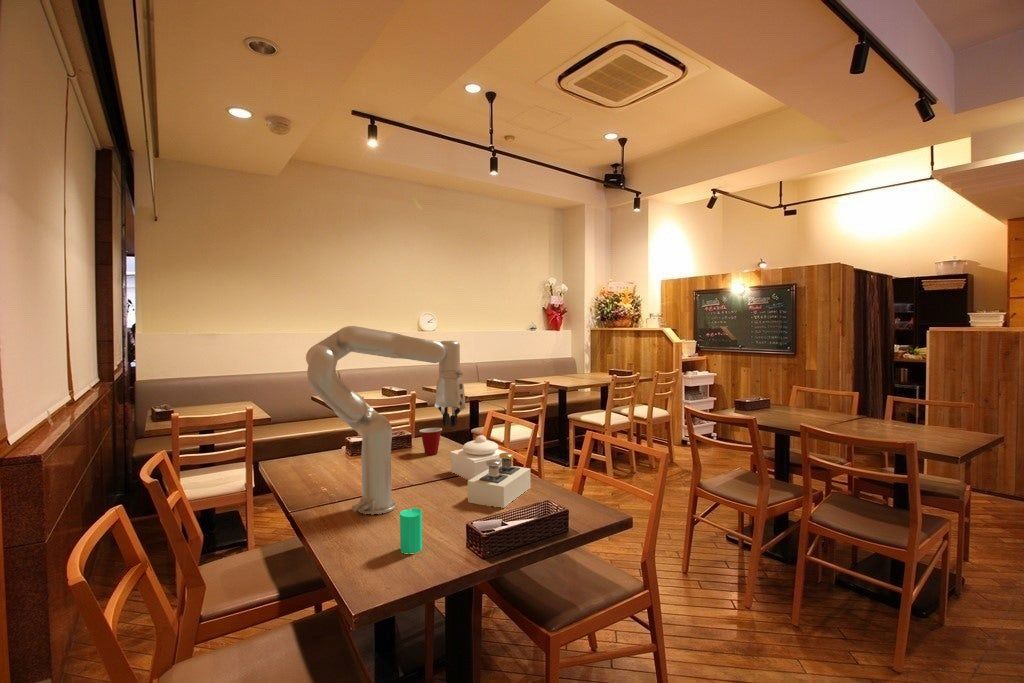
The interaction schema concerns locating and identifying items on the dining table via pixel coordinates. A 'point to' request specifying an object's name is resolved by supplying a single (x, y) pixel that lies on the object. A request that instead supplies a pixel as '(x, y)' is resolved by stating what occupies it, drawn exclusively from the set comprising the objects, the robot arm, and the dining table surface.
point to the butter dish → (474, 457)
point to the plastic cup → (431, 440)
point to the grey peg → (493, 468)
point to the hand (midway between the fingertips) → (450, 425)
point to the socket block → (499, 487)
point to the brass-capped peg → (506, 461)
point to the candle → (411, 530)
